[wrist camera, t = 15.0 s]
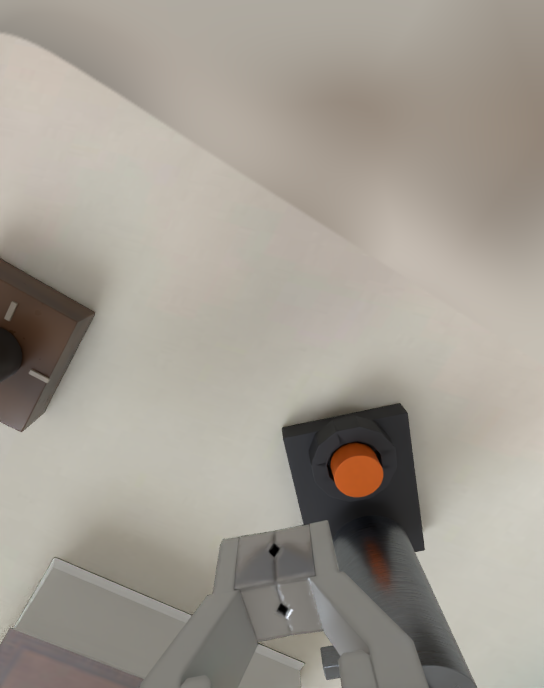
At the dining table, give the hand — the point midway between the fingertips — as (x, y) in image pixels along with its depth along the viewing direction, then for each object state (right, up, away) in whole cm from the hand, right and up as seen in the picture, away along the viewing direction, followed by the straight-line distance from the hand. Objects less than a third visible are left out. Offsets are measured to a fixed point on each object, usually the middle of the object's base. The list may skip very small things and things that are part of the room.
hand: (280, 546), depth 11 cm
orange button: (+6, -4, +19) cm, 20 cm away
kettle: (+7, -12, +21) cm, 25 cm away
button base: (+7, -7, +23) cm, 25 cm away
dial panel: (-20, +6, +19) cm, 28 cm away
